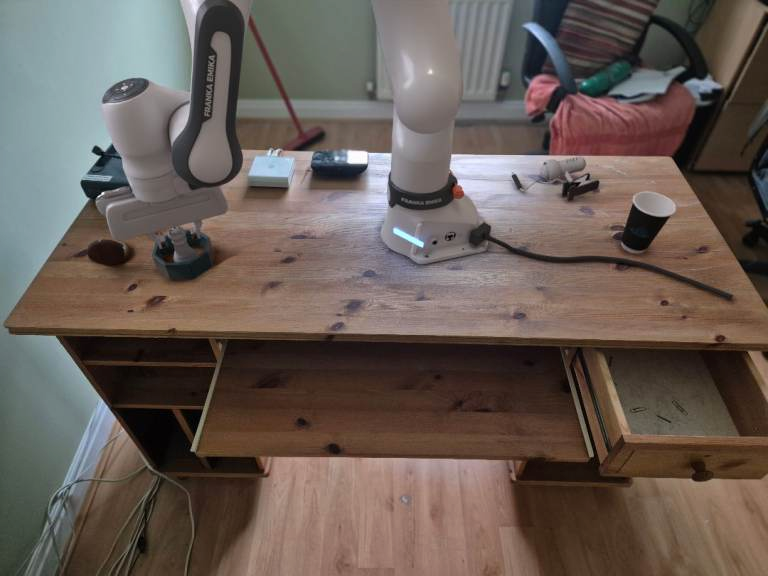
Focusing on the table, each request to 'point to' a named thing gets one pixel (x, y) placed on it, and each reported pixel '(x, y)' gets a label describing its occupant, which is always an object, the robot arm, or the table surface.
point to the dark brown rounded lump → (108, 252)
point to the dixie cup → (646, 220)
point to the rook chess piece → (181, 245)
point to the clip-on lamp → (566, 167)
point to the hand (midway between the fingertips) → (179, 241)
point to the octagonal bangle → (185, 268)
